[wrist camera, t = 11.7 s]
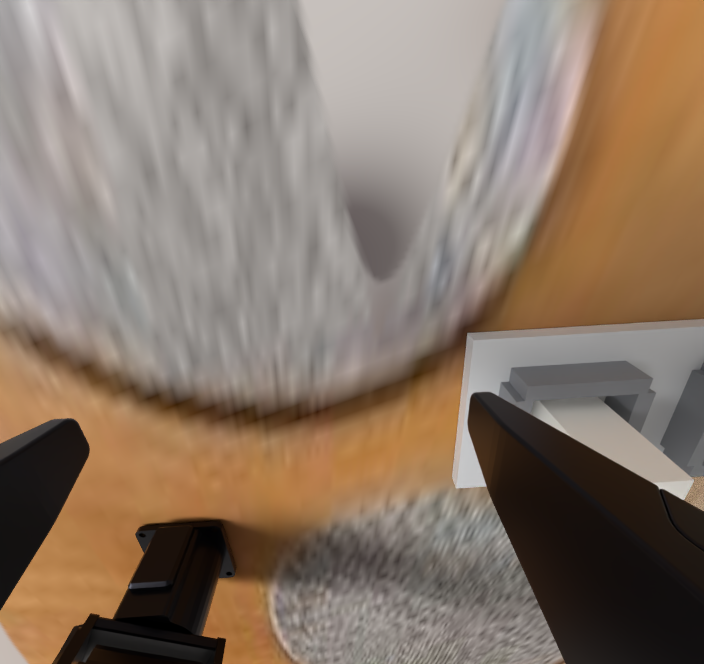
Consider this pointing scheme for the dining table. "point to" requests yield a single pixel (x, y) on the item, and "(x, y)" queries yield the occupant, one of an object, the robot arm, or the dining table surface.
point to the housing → (595, 381)
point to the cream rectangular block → (613, 440)
